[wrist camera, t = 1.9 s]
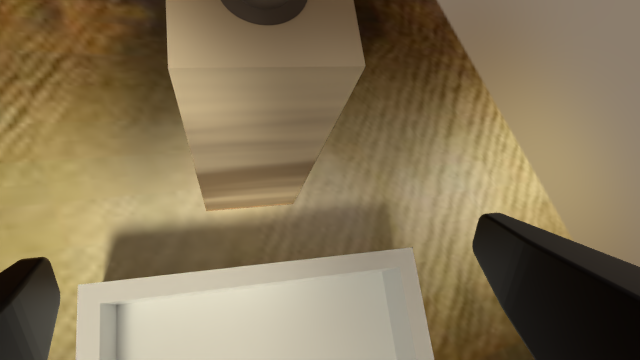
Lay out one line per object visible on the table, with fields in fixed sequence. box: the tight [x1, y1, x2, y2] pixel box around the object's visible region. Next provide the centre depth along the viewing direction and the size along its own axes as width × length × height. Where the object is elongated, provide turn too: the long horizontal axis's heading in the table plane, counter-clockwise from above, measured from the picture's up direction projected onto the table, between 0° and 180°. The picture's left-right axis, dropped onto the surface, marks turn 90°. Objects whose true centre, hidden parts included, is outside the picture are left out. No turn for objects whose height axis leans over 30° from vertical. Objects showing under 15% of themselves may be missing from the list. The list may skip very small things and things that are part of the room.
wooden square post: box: [166, 0, 366, 211], centre depth 15 cm, size 4×4×16 cm
